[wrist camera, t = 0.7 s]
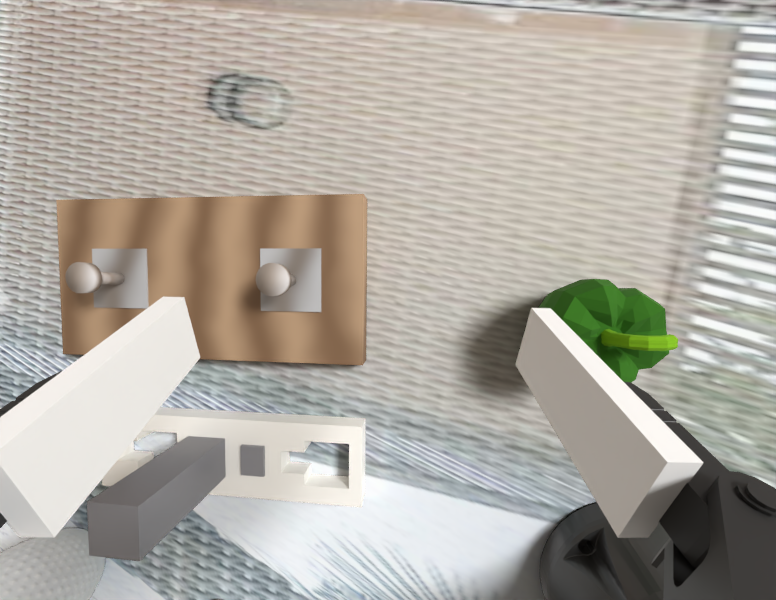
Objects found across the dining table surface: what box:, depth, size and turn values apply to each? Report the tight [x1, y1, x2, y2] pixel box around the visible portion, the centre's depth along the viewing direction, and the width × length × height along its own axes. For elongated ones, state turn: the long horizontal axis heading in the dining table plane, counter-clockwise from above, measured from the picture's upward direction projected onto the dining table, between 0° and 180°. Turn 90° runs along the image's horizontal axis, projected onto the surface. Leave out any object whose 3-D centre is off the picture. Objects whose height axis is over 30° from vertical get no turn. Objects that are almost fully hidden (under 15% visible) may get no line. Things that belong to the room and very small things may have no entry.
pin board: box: [57, 194, 367, 365], centre depth 31 cm, size 32×16×6 cm, turn 90°
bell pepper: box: [538, 279, 678, 382], centre depth 25 cm, size 8×8×10 cm
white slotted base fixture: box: [87, 407, 366, 561], centre depth 29 cm, size 28×8×12 cm, turn 90°
